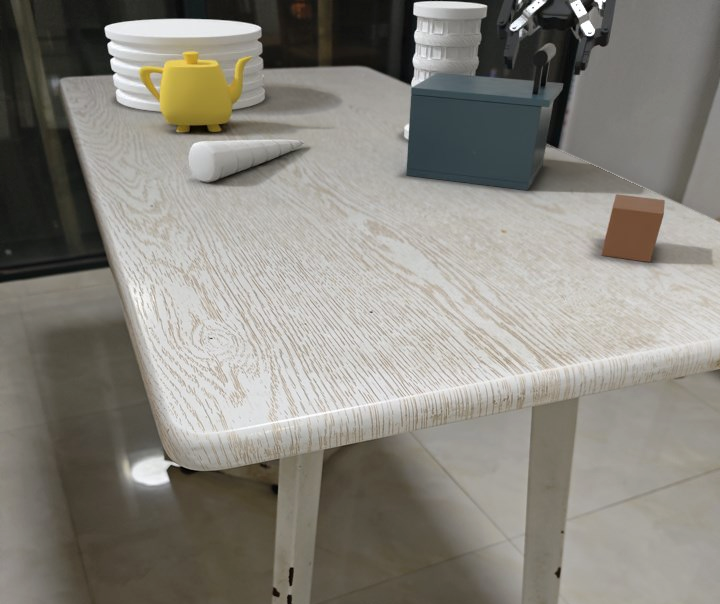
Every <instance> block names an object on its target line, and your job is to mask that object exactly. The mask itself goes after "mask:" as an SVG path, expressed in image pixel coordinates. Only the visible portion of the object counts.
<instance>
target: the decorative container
mask: <svg viewBox="0 0 720 604" xmlns="http://www.w3.org/2000/svg"><path fill="white" fill-rule="evenodd" d="M487 12H488V5H486V4H482V3H477V2H468V1H467V2H465V1H447V0H446V1H443V0H440V1H438V0H435V1H432V0H429V1H418V2H417V1H416V2H414V3H413V11H412V13H413V14H412V15H414V16H416V18H417V20H416V30H415V31H414V34H413V38H414V42H415V50H414V51H415V52H414V54H413V57H412V65H413V66H412V67H413V68H414V70H413V77H412V80H411V83H410V85H411V88H412V87H414V86H415V85H417V84H419V83H421V82H422V81H424V80H426V79H428V78H429V77H431V76H433V75H435V74H436V73H445V74H457V75H469V76H476V71H477V69H478V66H479V63H480V60H479V56H478V54H479V45H481V41H482V38H483V37H482V33H481V25H482V20H483V19H484V18H486V17H487V14H488V13H487ZM403 137H404V138H405V139H406V140H408V138H409V123H407V124H405V125H404V132H403Z"/></svg>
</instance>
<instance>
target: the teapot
mask: <svg viewBox="0 0 720 604" xmlns="http://www.w3.org/2000/svg"><path fill="white" fill-rule="evenodd" d="M183 56H184V58H185V60H170V61H167V62H166V63H165V65H164V68H160V67H154V66H144V67H141V68H140V69H139V75H140V78H141V80H142V82H143V84H144V85H145V86H146V88H147V89H148V90H149V91H150V92H151V93H152V95H153V96H154V97H155V98H156V99H157V100H158V101H159V102H160V109H161V112H160V113H161V114H162V117H163V118H164V119H165V122H167V124H169V125H173V126H175V125H177V127H176V130H175V131H176V132H177V133H188V132H190V130H191V129H190V128H191V126H206V127H207V130H208V132H212V133H214V132H215V133H216V132H217V133H218V132H221V131H222V128H221V126H220V125H222V124H227V123H228V122H229V121H230V118H231V116H232V113H233V110H232V105H233V104H234V103H235V102H237V101H238V99H239V98H240V95H241V93H242V86H243V70H244V67H245V65H246V63H247V62H248V61H249V60H250V59H251V58H252V57H253V56H249V57H245V58H241V59H239V60H238V62H237V63H236V67H235V76H234V80H233V82H232V84H231V85H229V86H228V84H227V82H226V79H225V77H224V74H223V72H222V70H221V67H220V65H219V63H218V62H217V61H214V60H198V56H199V53H198V52H192V51H189V52H184V53H183ZM151 73H161V74H162V78H161V83H160V94H159V93H158V91H157V90H156V89H155V87H154V85H153V83H152V81H151V79H150V74H151Z"/></svg>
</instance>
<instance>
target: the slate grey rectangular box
mask: <svg viewBox="0 0 720 604" xmlns="http://www.w3.org/2000/svg"><path fill="white" fill-rule="evenodd" d="M409 104H410V105H409V122H408V124H409V138H408V139H407V157H406V171H405V172H406V176H408V177H417V178H425V179H432V180H441V181H447V182H448V181H449V182H456V183H457V182H458V183H466V184H471V185H472V184H474V185H481V186H488V187H489V186H490V187H498V188H506V189H507V188H508V189H515V190H521V191H529V189H530V188H531V185H532V184H533V183H534V181H535V179H536V178H537V176H538V174H539V172H540V171H541V170H542V167H543V165H544V160H545V154H546V146H547V141H548V136H549V130H550V125H551V124H550V122H551V119H552V112H553V106H554V101H553V102H552V104H551V105H550V106H549V107H541V106H530V105H519V104H508V103H498V102H487V101H476V100H465V99H454V98H444V97H433V96H422V95H411V94H410V103H409Z"/></svg>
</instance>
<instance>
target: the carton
mask: <svg viewBox="0 0 720 604" xmlns="http://www.w3.org/2000/svg"><path fill="white" fill-rule="evenodd" d="M665 202H666V200H665V199H660V198H650V197H643V196H634V195H626V194H619V193H618V194H615V197H614V201H613V205H612V208H611V213H610V216H609V221H608V225H607V229H606V234H605V238H604V243H603V245H602V250H601V254H600V255H601V256H602V257H610V258H616V259H617V258H618V259H624V260H630V261H639V262H645V263H651V261H652V257H653V253H654V250H655V246H656V243H657V239H658V236H659V232H660V229H661V226H662V221H663V219H664V214H665V204H666V203H665Z"/></svg>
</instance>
